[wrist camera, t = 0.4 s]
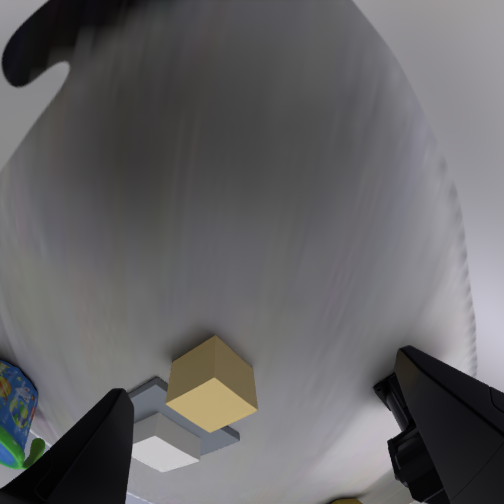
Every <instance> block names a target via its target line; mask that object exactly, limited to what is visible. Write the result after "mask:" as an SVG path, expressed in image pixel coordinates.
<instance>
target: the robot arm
mask: <svg viewBox="0 0 504 504" xmlns="http://www.w3.org/2000/svg"><path fill="white" fill-rule="evenodd" d="M373 389H374V391H375V393H376V394H377V395H378V397H379V398H380V399H381V400H382V402H383V403H384V404H385V405H386V407H387V408H388V409H389V411H392V413H393V415H394V417H395V419H396V421H397V423H398V425H399V427H400V429H401V431H402V432H401V433H400V434H398V435H397V436H395V437H394V438H393V439H392V438H391V439H390V440H388V441H387V443H388V450H389V454H390V458H391V462H392V466H393V470H394V473H395V479H396V480H399V481H401V483H402V484H403V485H404V486H405V487H407V488H409V490H410V493H411V495H412V498H413V499H415V500H416V501H418V502H420V503H423V502H424V503H426V504H504V393H503V392H501V391H499V390H497V389H495V388H493V387H489V386H488V385H487V384H485V383H482V382H480V381H479V380H477V379H475V378H473V377H471V376H469V375H467V374H465V373H463V372H461V371H459V370H457V369H455V368H453V367H451V366H449V365H448V364H446V363H444V362H442V361H440V360H438V359H436V358H434V357H432V356H430V355H428V354H426V353H424V352H422V351H420V350H419V349H417V348H415V347H413V346H410V345H408V346H404V347H401V348H399V349H398V352H397V356H396V362H395V373H393V374H392V375H391V376H389V377H388V378H386V379H385V380H383V381H382V382H380V383H378V384H377V385H376V386H374V388H373ZM134 411H135V410H134V405H133V403H132V401H131V399H130V397H129V396H128V394H127V392H126V390H125V389H123V388H114V389H112V390H110V391H109V392H108V393H107V394H106V395H105V396H104V397H103V398H102V399H101V400H100V401H99V402H98V403H97V404H96V405H95V406H94V407H93V408H92V409H91V410H90V411H88V412H87V413H86V414H85V415H84V416H83V417H82V418H81V419H80V420H79V421H78V422H77V423H76V424H75V425H74V426H73V427H72V428H71V429H70V430H69V431H68V432H67V433H65V434H64V435H63V436H62V437H61V438H60V439H59V440H58V441H57V442H56V443H55V444H54V445H53V446H52V447H51V448H50V450H48V451H47V452H45V453H44V454H43V455H42V456H41V457H40V458H39V459H38V460H37V461H36V462H35V463H34V464H32V465H31V466H30V467H29V468H27V469H26V470H25V471H24V472H22V473H21V474H20V475H19V476H17V477H16V478H15V479H13V480H12V481H11V482H9V483H8V484H7V485H5V486H4V487H2V488H0V504H125V500H126V492H127V484H128V477H129V469H130V462H131V456H132V448H133V429H134Z"/></svg>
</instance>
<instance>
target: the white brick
mask: <svg viewBox="0 0 504 504" xmlns="http://www.w3.org/2000/svg"><path fill="white" fill-rule="evenodd" d="M200 445H201V438H199V437H197V436H196V435H194V434H192V433H191V432H189V431H187V430H186V429H184V428H182V427H181V426H179V425H178V424H176V423H175V422H173V421H172V420H170V419H168V418H167V417H165V416H164V415H162V414H161V413H159V412H158V413H156V414H154V415H152V416H150V417H148V418H146V419H144V420H141V421H139V422H137V423H135V424H134V429H133V448H132V457H134V458H135V459H137V460H139V461H141V462H143V463H144V464H146V465H148V466H150V467H152V468H154V469H156V470H158V471H160V472H166V471H169V470H172V469H176V468H179V467H182V466H186V465H189V464H192V463H195V462H198V461H200Z"/></svg>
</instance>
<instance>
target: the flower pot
mask: <svg viewBox="0 0 504 504" xmlns="http://www.w3.org/2000/svg"><path fill="white" fill-rule="evenodd" d="M331 504H362V503H361V502H359V501H358V500H356V499H338V500H336V501H334V502H333V503H331Z"/></svg>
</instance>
